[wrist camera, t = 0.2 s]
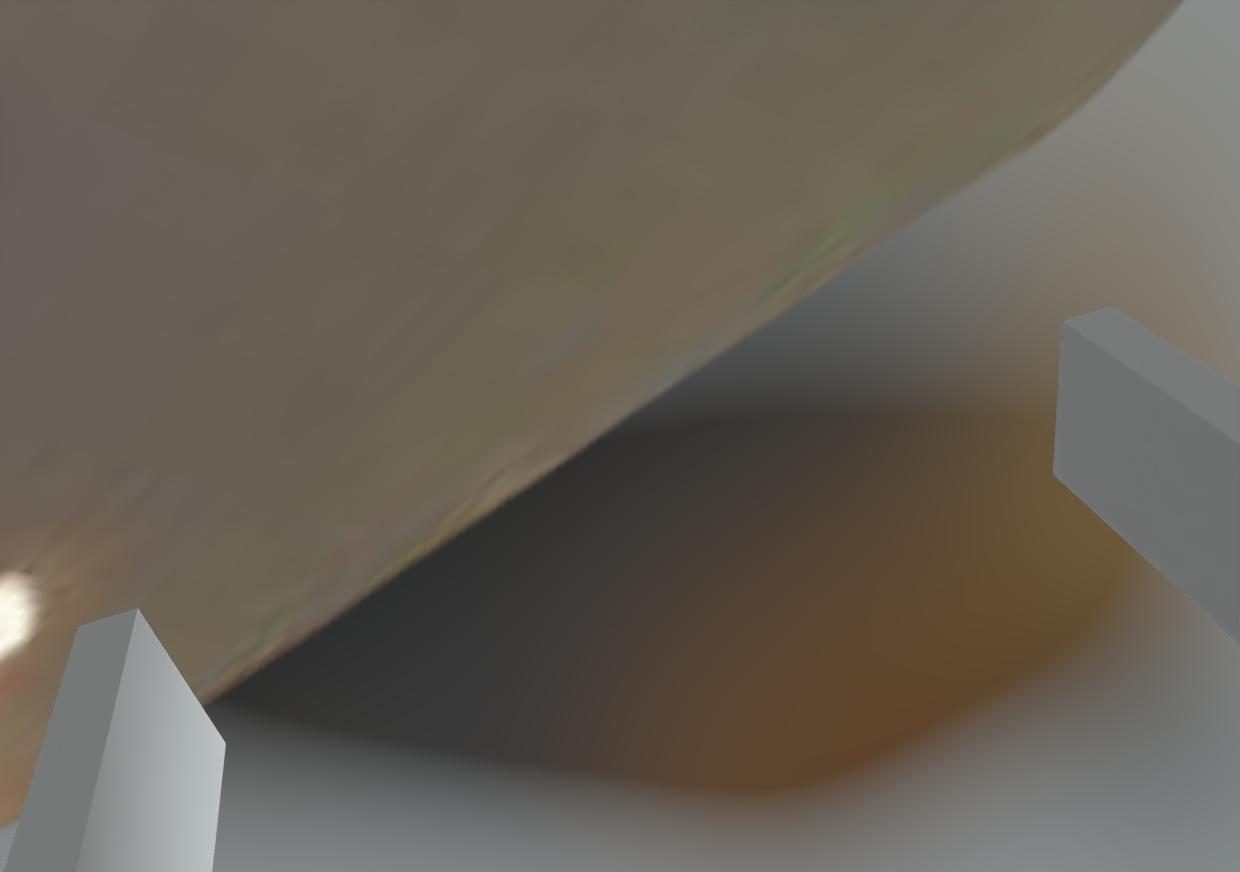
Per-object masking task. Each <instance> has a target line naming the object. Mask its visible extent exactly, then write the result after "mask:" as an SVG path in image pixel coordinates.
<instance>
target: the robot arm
mask: <svg viewBox="0 0 1240 872" xmlns="http://www.w3.org/2000/svg"><path fill="white" fill-rule="evenodd" d="M1053 475H1055V476H1056V477H1057V478H1058V479H1059V480H1060V481H1061V482H1062V483H1063V484H1064V485H1065V486H1067V487H1068V488H1069V489H1070V490H1071V491H1072V492H1073V493H1074V494H1075V495H1076V496H1077V497H1079V498H1080V499H1081V500H1082V501H1083V502H1084V503H1085V504H1086V505H1087V506H1088V507H1089V508H1091V509H1092V510H1093V511H1094V512H1095V513H1096V514H1097V515H1098V516H1099V517H1101V518H1102V519H1103V520H1104V521H1105V522H1106V523H1107V524H1108V525H1109V526H1110V527H1111V528H1113V529H1114V530H1115V531H1116V532H1117V533H1118V534H1119V535H1120V536H1121V537H1122V538H1123V539H1125V540H1126V541H1127V542H1128V543H1129V544H1130V545H1131V546H1132V547H1134V549H1135V550H1136V551H1138V552H1139V553H1140V554H1141V555H1142V556H1143V557H1144V558H1145V559H1146V560H1147V561H1149V562H1150V563H1151V564H1152V565H1153V566H1154V567H1155V568H1156V569H1157V570H1158V571H1159V572H1161V573H1162V574H1163V575H1164V576H1165V577H1166V578H1167V579H1168V580H1169V581H1170V582H1172V583H1173V584H1174V585H1175V586H1176V587H1177V588H1178V589H1179V590H1180V591H1181V592H1182V593H1184V594H1185V595H1186V596H1187V597H1188V598H1189V599H1190V600H1191V601H1192V602H1193V603H1195V604H1196V605H1197V606H1198V607H1199V608H1200V609H1201V610H1202V611H1203V612H1204V613H1206V614H1207V615H1208V616H1209V617H1210V618H1211V619H1212V620H1213V621H1214V622H1215V623H1216V624H1218V625H1219V626H1220V627H1221V628H1222V629H1223V630H1224V631H1225V632H1226V633H1227V634H1228V635H1230V636H1231V637H1232V638H1233V639H1234V640H1235V641H1236V642H1237V643H1238V644H1239V645H1240V387H1238V386H1237V385H1236V384H1234V383H1232V382H1231V381H1229V380H1228V379H1226V378H1225V377H1223V376H1221V375H1220V374H1218V373H1217V372H1215V371H1213V370H1212V369H1210V368H1209V367H1207V366H1206V365H1204V364H1202V363H1201V362H1199V361H1197V360H1196V359H1194V358H1193V357H1191V356H1190V355H1188V354H1187V353H1185V352H1183V351H1182V350H1180V349H1179V348H1177V347H1175V346H1174V345H1172V344H1171V343H1169V342H1168V341H1166V340H1164V339H1163V338H1161V337H1160V336H1158V335H1157V334H1155V333H1153V332H1152V331H1150V330H1149V329H1147V328H1145V327H1144V326H1142V325H1141V324H1139V323H1138V322H1136V321H1134V320H1133V319H1131V318H1130V317H1128V316H1126V315H1125V314H1123V313H1121V312H1120V311H1119V310H1117V309H1115V308H1113V307H1112V306H1109V307H1106V308H1103V309H1100V310H1096V311H1093V312H1090V313H1087V314H1083V315H1080V316H1077V317H1074V318H1071V319H1067V320H1064V321H1062V335H1061V350H1060V367H1059V384H1058V398H1057V416H1056V432H1055V447H1054V464H1053ZM225 746H226V743H225V742H224V740H223V739H222V737H221V736H220V734H219V733H218V731H217V730H216V728H215V726H214V725H213V723H212V722H211V720H210V719H209V717H208V716H207V714H206V713H205V711H204V709H203V708H202V706H201V705H200V703H199V702H198V700H197V699H196V697H195V696H194V694H193V693H192V691H191V689H190V688H189V686H188V685H187V683H186V682H185V680H184V679H183V677H182V676H181V674H180V672H179V671H178V669H177V668H176V666H175V665H174V663H173V662H172V660H171V659H170V657H169V656H168V654H167V652H166V651H165V649H164V648H163V646H162V645H161V643H160V642H159V640H158V639H157V637H156V636H155V634H154V632H153V631H152V629H151V628H150V626H149V625H148V623H147V622H146V620H145V619H144V617H143V615H142V614H141V612H140V611H139V609H138V608H137V609H133V610H130V611H127V612H124V613H121V614H117V615H114V616H111V617H108V618H105V619H101V620H98V621H95V622H92V623H88V624H85V625H82V626H79V627H78V629H77V632H76V636H75V639H74V642H73V646H72V649H71V652H70V656H69V659H68V662H67V665H66V669H65V672H64V675H63V679H62V682H61V685H60V688H59V692H58V695H57V698H56V702H55V705H54V708H53V712H52V715H51V718H50V721H49V725H48V728H47V731H46V735H45V738H44V741H43V744H42V748H41V751H40V754H39V758H38V761H37V764H36V768H35V771H34V774H33V777H32V781H31V784H30V787H29V791H28V794H27V797H26V800H25V804H24V807H23V810H22V814H21V817H20V820H19V824H18V827H17V830H16V833H15V837H14V840H13V843H12V847H11V850H10V853H9V857H8V860H7V863H6V866H5V870H4V872H212V867H213V858H214V848H215V839H216V829H217V820H218V811H219V802H220V792H221V784H222V774H223V765H224V755H225Z"/></svg>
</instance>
